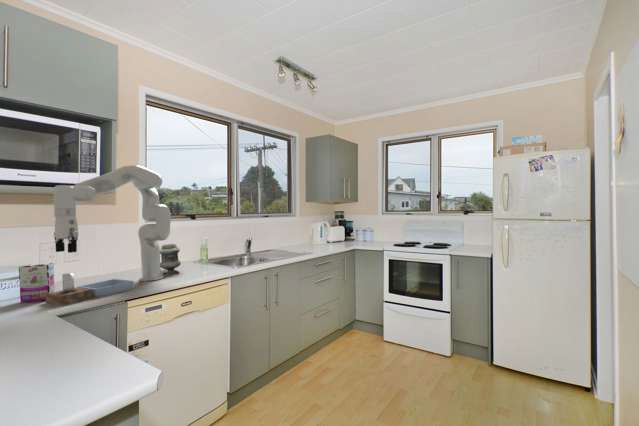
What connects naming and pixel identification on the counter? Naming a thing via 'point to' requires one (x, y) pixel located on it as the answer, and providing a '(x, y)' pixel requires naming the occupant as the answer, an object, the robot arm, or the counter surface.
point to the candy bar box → (36, 281)
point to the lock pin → (68, 283)
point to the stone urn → (169, 258)
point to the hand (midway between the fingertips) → (66, 251)
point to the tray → (108, 287)
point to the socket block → (68, 296)
